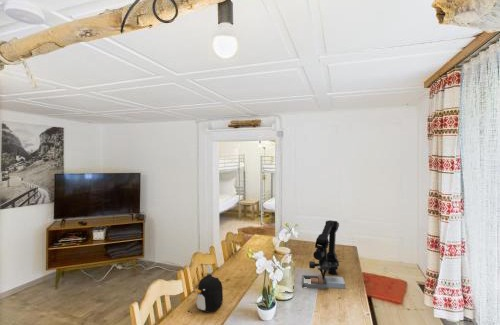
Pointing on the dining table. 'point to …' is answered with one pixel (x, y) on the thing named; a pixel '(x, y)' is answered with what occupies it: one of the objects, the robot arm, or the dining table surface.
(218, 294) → the penguin
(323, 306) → the dining table surface
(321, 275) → the tile
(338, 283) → the light grey slab
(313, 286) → the tray
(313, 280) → the tile
